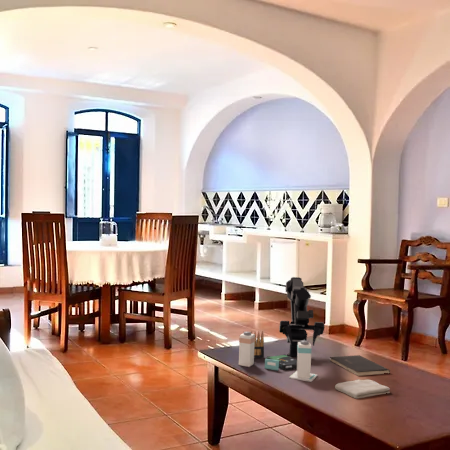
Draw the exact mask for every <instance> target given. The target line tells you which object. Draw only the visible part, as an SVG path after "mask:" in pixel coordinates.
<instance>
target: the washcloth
mask: <svg viewBox="0 0 450 450" xmlns="http://www.w3.org/2000/svg"><path fill="white" fill-rule="evenodd" d="M334 388H335V390H336V391H338V392H341V393H344V394H345V395H347V396H349V397H351V398H354V399H364V398H369V397H373V396H378V395H385V394H386V393H387V394H390V393H391V392H390V387H388V386H387V385H382V384H381V383H378V382H377V381H375V380H371V379H359V378H358V379H355V380H349V381H344V382H338V383H337V384H335V386H334Z"/></svg>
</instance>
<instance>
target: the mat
mask: <svg viewBox="0 0 450 450" xmlns="http://www.w3.org/2000/svg"><path fill="white" fill-rule="evenodd" d="M317 377H318V374H317V373H316V374H315V373H311V372H310V378H306V377H297V370H296V371H295V372H293V374H291V375H290V376H289V379H291V380H296V381H297V380H298V381H304V382H311V383H312V382H313V381H314V380H315V379H316V378H317Z"/></svg>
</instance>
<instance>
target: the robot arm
mask: <svg viewBox="0 0 450 450" xmlns="http://www.w3.org/2000/svg"><path fill="white" fill-rule="evenodd" d="M285 283H286V284H285V293H286V297H287V298H288V299H289V301H290V313H291V314H290V315H291V321H290V320H280V322H279V328H278V329H279V330H278V331H279V333H281V334H282V335H284V336H285V338H286V342H287V343H288V344H289V351H288V353H287V354H286V355H287V356H290V357H292V358H294V357H295V358H297V345H298V342H301V341H302V340H306V341H308V332H307V331H313V333H312V346H315V343H316V340H317V338H318V337H319V336H321V335H323V334H324V331H325V323H324V322H322V321H320V322H319V321H315V322H314V324H309V323H310V319H314V310H313V309H309V310H308V305H309V301H310V299H312V298H311V297H312V294H311V293H310V292H309V291H308V289H307V287H305V286H304V282H303V280H302V277H298V276H297V277H296V276H292V277H291V278H290V279H289V280H288V281H286V282H285Z"/></svg>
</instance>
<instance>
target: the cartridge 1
mask: <svg viewBox="0 0 450 450" xmlns="http://www.w3.org/2000/svg"><path fill="white" fill-rule="evenodd" d="M243 332H244V333H241V334H240V335H239V338H238V343H239V346H238V347H239V348H238V366H243V367H248V368H250V367H251V366H253V365H254V364H255V358H254V343H255V334H254V333H252V334H251V331H248V332H247V331H243Z"/></svg>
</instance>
